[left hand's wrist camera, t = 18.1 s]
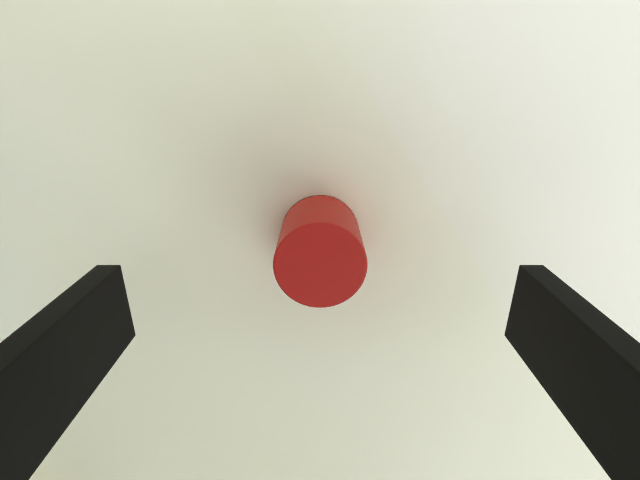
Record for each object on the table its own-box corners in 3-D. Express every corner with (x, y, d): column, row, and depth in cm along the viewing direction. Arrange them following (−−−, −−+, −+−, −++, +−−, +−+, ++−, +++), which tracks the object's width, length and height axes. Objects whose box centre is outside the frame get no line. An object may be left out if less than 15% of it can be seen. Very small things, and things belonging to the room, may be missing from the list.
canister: (295, 273, 20) (289, 317, 16) (271, 206, 19) (259, 237, 15) (365, 255, 20) (377, 296, 16) (347, 185, 18) (354, 211, 14)
